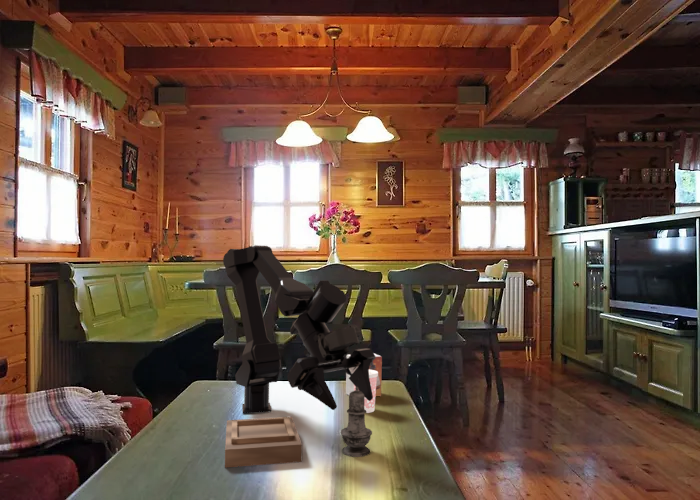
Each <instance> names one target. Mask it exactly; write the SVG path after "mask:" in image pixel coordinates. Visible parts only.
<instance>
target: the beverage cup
mask: <svg viewBox="0 0 700 500" xmlns="http://www.w3.org/2000/svg"><path fill="white" fill-rule="evenodd" d="M377 376H378V371H375V370H370V369H369V379H370V385H371V390H372V395H373V399H372V400H371V401H369V400H367V399H366V398H364V409H365V410H366V413H365V414H369V413H374V411H375V410H376V409H375V408H376V407H375V406H376V397H375V396H376V381H377ZM355 388H356V386H355V385H354V391H355V390H356V389H355Z"/></svg>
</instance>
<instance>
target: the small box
mask: <svg viewBox="0 0 700 500" xmlns="http://www.w3.org/2000/svg"><path fill="white" fill-rule="evenodd" d="M374 355H375V357H376V358H375V359H374V361H373V363H372V364H371V366H370V367H369V369H370V370H375V371H378V376H377V381H376V396H380V397H382V378H383V377H382V367H383V366H382V365H383V356H381V355H379V354H377V353H374ZM350 356H351V354H346V358H349V357H350ZM349 377H350V375H348V374H347V373H346V372H345V378H346V379H345V395H348V396H349V394H350V393H351V392H353V391H354V384H353V383H352V382H351V380H350V379H349ZM376 396H375V398H377V397H376Z"/></svg>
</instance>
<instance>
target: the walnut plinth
mask: <svg viewBox="0 0 700 500" xmlns="http://www.w3.org/2000/svg"><path fill="white" fill-rule="evenodd" d="M225 429H226V430H225V447H224V468H225V469H226V468H235V467H236V468H237V467H238V466H239V467H251V466H261V465H262V466H265V465H277V464H288V463H289V464H290V463H302V461H303V460H302V456H303V455H302V454H303V453H302V452H303V451H302V450H303V444H302V441H301V438H300V435H299V432H298V430H297V427H296V423H295V421H294V419H293V416H280V417H264V418H263V417H261V418H258V417H257V418H244V419H230V420H226V427H225Z"/></svg>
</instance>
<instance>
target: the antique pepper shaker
mask: <svg viewBox="0 0 700 500" xmlns="http://www.w3.org/2000/svg"><path fill="white" fill-rule="evenodd" d="M355 389H356V390H355V391H353V392H351V393H350V394H349V395H348V408H347V410H346V413H347V414H348V415H347V416H348V421H347V423H348V424H347V426H346V427H344V428H342V429H341V430H340V434H341V436H342V437H341V439H342V442H344V444H345V447H343V448H342V449H341V453H342V454H343V455H345V456H348V457H353V458H361V457H365V456H368V455H370V454H371V449H370V448H369V447H367V445H368V444H369V442H370V440H371V436H372V435H373V431H372V430H371V429H370V428H368V427H367V426H366V423H365V422H366V416H365V415H366V414H367V413H366V410H365V409H364V398H365V396H364V394H363V393H362V392H361V391H359V390H358V389H359V388H358V387H357V386H356V388H355Z"/></svg>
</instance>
